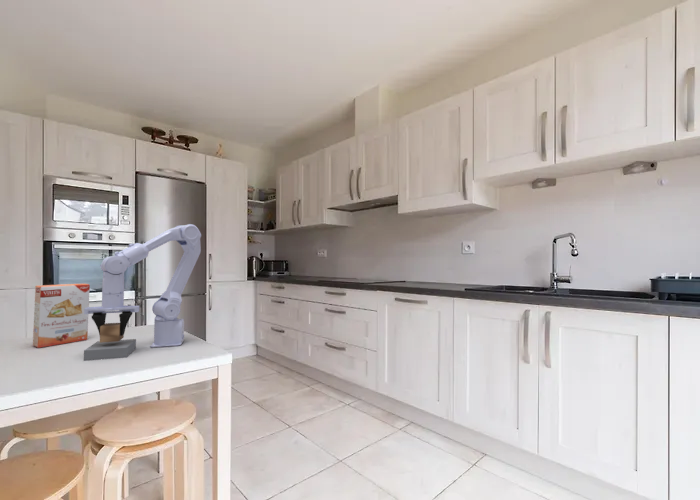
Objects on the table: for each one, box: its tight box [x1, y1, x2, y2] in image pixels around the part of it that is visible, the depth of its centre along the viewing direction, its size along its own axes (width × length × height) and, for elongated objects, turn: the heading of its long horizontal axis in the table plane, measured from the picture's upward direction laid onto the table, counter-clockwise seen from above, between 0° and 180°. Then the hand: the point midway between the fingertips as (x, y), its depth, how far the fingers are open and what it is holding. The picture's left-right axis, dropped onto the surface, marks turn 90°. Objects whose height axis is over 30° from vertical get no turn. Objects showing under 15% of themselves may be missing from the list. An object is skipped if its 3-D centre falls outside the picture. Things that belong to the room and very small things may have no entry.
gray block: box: [83, 338, 137, 362], centre depth 105 cm, size 11×11×4 cm
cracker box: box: [32, 283, 91, 349], centre depth 117 cm, size 14×6×21 cm, turn 148°
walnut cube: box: [99, 322, 125, 343], centre depth 105 cm, size 5×5×5 cm
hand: (112, 335), depth 105 cm, fingers closed on walnut cube, 5 cm apart
